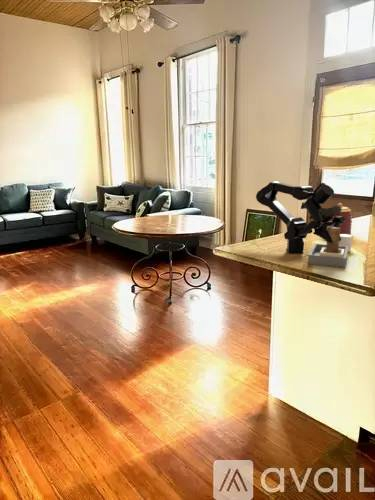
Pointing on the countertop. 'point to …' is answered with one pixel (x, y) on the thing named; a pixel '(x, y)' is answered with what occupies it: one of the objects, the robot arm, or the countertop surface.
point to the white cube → (346, 240)
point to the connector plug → (335, 237)
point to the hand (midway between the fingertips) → (335, 241)
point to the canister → (345, 212)
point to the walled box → (328, 256)
